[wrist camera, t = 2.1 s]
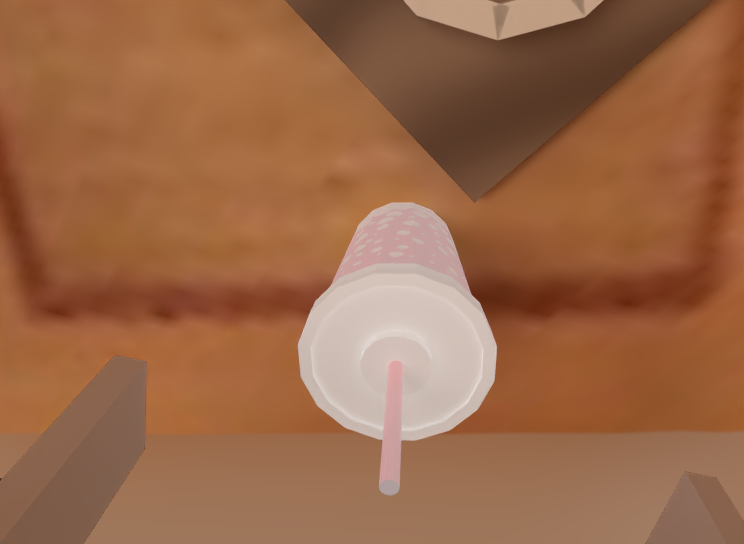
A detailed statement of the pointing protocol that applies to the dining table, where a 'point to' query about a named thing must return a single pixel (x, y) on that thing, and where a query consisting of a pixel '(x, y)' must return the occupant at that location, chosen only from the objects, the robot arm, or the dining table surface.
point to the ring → (502, 14)
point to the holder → (488, 74)
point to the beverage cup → (398, 336)
